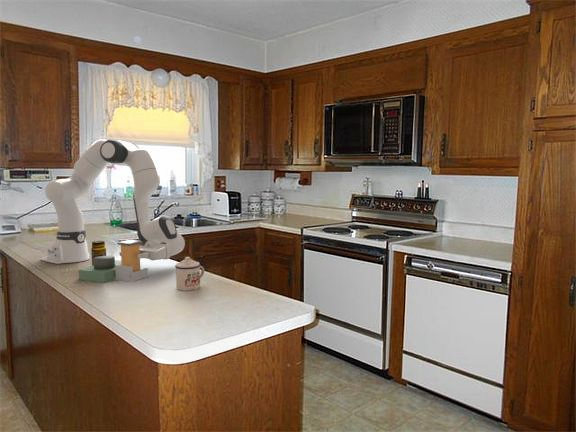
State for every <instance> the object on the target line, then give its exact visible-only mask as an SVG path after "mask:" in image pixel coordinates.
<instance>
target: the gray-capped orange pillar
mask: <svg viewBox="0 0 576 432" xmlns="http://www.w3.org/2000/svg"><path fill="white" fill-rule="evenodd" d="M141 244H143V243H142V241H140V240H139V239H138V240H136V239H127V240H123V241H117V245H118V246H120V252H121V256H120V257H121V258H120V259H121V260H120V261H121V263H122V265H125V266H132V267H133V272H135V271H138V270H141V259H137V258H136V254H140V248H139V245H141Z"/></svg>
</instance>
